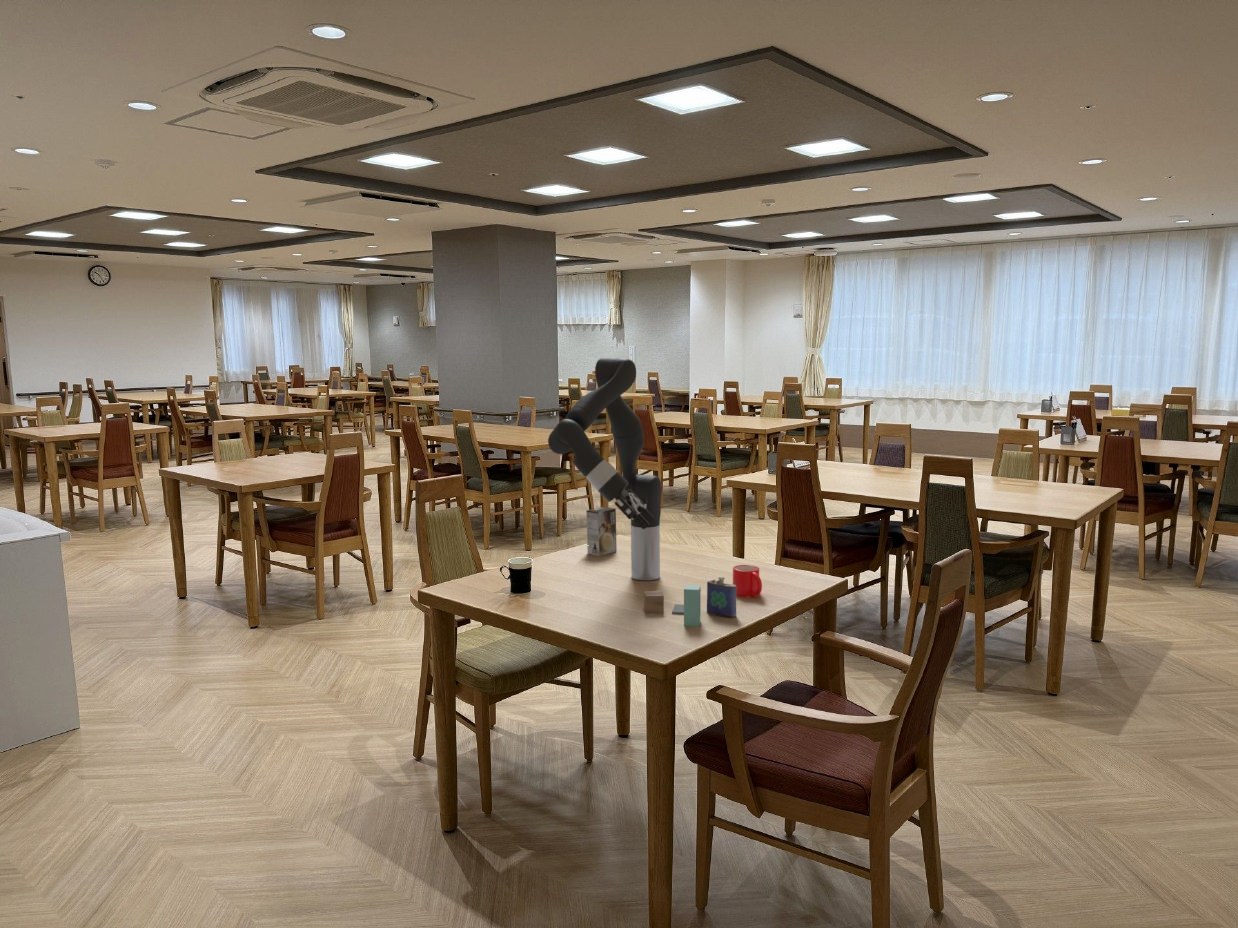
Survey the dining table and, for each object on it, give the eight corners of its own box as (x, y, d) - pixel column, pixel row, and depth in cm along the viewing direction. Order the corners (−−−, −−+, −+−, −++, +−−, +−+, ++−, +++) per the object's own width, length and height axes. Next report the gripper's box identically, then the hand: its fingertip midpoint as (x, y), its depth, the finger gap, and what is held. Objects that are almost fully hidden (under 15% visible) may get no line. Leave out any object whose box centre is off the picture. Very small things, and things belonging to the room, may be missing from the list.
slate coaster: (675, 608, 248) (675, 604, 248) (699, 609, 247) (699, 605, 247) (672, 615, 242) (672, 611, 241) (697, 616, 240) (697, 612, 240)
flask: (738, 616, 239) (738, 578, 237) (732, 619, 236) (732, 580, 235) (709, 610, 244) (709, 573, 243) (704, 612, 242) (703, 575, 241)
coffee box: (604, 549, 318) (603, 506, 316) (617, 551, 314) (616, 508, 312) (586, 553, 312) (586, 509, 309) (599, 556, 307) (598, 512, 305)
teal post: (685, 620, 235) (685, 585, 234) (700, 621, 235) (700, 585, 233) (683, 625, 232) (683, 589, 230) (698, 626, 231) (698, 589, 229)
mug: (750, 602, 251) (750, 575, 250) (727, 591, 262) (727, 566, 261) (772, 598, 255) (773, 572, 254) (749, 588, 266) (749, 563, 264)
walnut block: (644, 608, 247) (644, 591, 247) (661, 607, 248) (661, 590, 247) (646, 613, 242) (645, 596, 242) (663, 612, 243) (663, 595, 242)
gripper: (611, 474, 225) (655, 519, 224) (621, 467, 238) (662, 509, 238) (591, 494, 226) (635, 538, 226) (603, 485, 240) (643, 527, 239)
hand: (649, 523), depth 232 cm, fingers open, 8 cm apart
